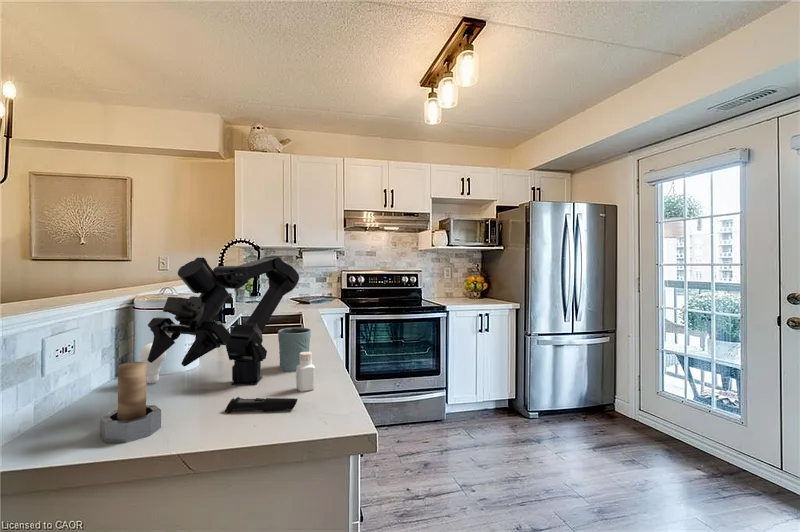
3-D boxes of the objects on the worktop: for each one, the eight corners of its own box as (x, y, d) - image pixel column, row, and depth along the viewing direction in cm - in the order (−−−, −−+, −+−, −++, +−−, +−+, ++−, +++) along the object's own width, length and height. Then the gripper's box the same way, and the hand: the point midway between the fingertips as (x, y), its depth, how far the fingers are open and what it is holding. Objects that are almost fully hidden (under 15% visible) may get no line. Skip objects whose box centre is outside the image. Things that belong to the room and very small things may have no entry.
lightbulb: (156, 386, 100) (157, 345, 100) (133, 386, 100) (134, 344, 100) (171, 380, 106) (171, 340, 106) (149, 379, 106) (150, 340, 106)
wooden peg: (147, 425, 76) (148, 360, 76) (143, 434, 72) (144, 366, 72) (120, 429, 74) (121, 362, 74) (114, 438, 70) (115, 368, 70)
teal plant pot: (298, 362, 127) (298, 326, 127) (317, 367, 120) (317, 329, 120) (271, 368, 119) (271, 330, 119) (289, 374, 112) (290, 334, 112)
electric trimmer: (295, 415, 83) (295, 401, 83) (223, 414, 83) (223, 400, 83) (299, 409, 87) (299, 395, 87) (230, 408, 86) (231, 394, 86)
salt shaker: (310, 385, 102) (310, 350, 102) (315, 390, 99) (315, 353, 99) (295, 388, 100) (295, 352, 100) (300, 392, 96) (300, 355, 96)
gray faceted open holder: (168, 421, 78) (168, 404, 78) (141, 442, 69) (142, 422, 69) (122, 422, 77) (122, 405, 77) (89, 443, 68) (89, 423, 68)
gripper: (155, 282, 88) (106, 338, 77) (221, 284, 83) (178, 344, 72) (183, 312, 96) (141, 367, 85) (245, 316, 90) (209, 375, 80)
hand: (165, 363), depth 80 cm, fingers open, 9 cm apart
